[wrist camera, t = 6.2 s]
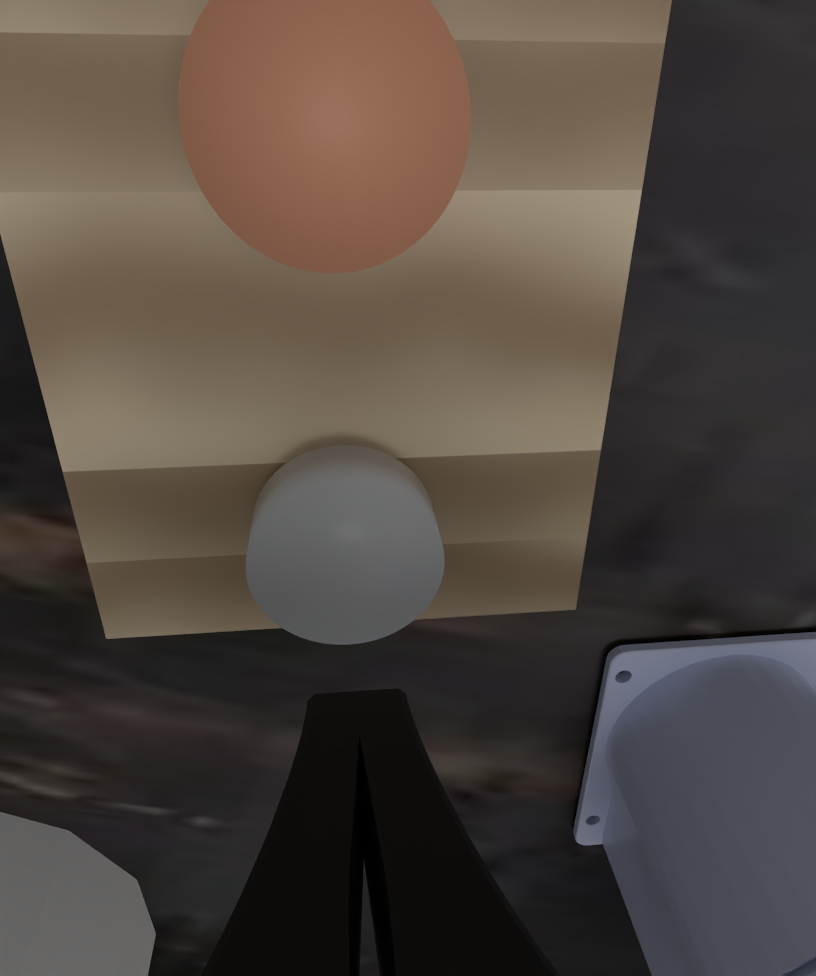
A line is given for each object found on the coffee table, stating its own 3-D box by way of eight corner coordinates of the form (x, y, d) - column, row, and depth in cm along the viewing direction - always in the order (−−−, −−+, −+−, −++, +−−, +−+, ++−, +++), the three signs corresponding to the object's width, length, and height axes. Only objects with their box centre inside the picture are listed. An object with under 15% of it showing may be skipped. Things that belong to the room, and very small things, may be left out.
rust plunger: (430, 228, 14) (464, 271, 11) (229, 230, 14) (200, 275, 11) (436, -13, 12) (479, -52, 9) (202, -18, 12) (154, -62, 9)
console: (554, 565, 20) (575, 609, 19) (125, 589, 19) (106, 638, 18) (642, -97, 13) (691, -126, 11) (-41, -122, 12) (-102, -158, 10)
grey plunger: (420, 540, 19) (441, 638, 15) (268, 548, 18) (255, 650, 15) (423, 400, 17) (448, 477, 13) (252, 405, 16) (234, 486, 13)
